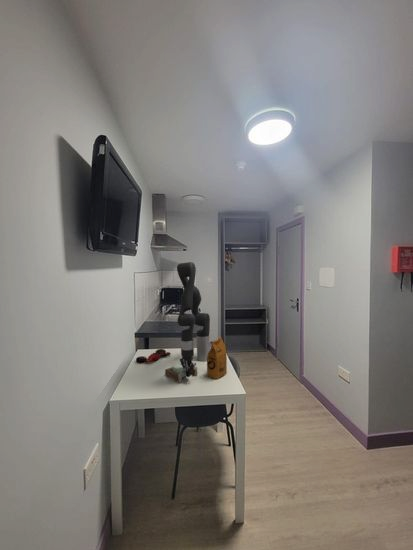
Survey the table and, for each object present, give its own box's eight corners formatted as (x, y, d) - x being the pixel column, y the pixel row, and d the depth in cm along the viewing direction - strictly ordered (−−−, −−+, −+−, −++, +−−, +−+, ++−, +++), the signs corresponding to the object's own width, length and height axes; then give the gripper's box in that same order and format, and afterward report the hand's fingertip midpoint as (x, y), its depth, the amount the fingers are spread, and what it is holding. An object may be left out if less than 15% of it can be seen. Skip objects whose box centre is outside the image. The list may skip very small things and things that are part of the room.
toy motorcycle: (134, 364, 166) (147, 366, 156) (133, 356, 167) (146, 358, 157) (161, 354, 186) (175, 355, 175) (160, 347, 186) (174, 348, 176)
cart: (189, 375, 143) (189, 367, 143) (180, 380, 138) (180, 371, 138) (180, 371, 149) (180, 363, 149) (171, 375, 145) (171, 367, 144)
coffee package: (204, 376, 143) (203, 340, 142) (216, 368, 152) (215, 335, 152) (217, 380, 136) (216, 343, 136) (229, 372, 146) (228, 338, 145)
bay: (182, 368, 154) (182, 360, 154) (198, 375, 144) (197, 367, 143) (165, 375, 145) (164, 367, 145) (179, 383, 134) (179, 375, 134)
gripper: (199, 348, 136) (200, 377, 137) (185, 343, 146) (185, 371, 146) (189, 351, 131) (190, 382, 131) (175, 346, 141) (176, 375, 141)
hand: (188, 376), depth 139 cm, fingers closed
